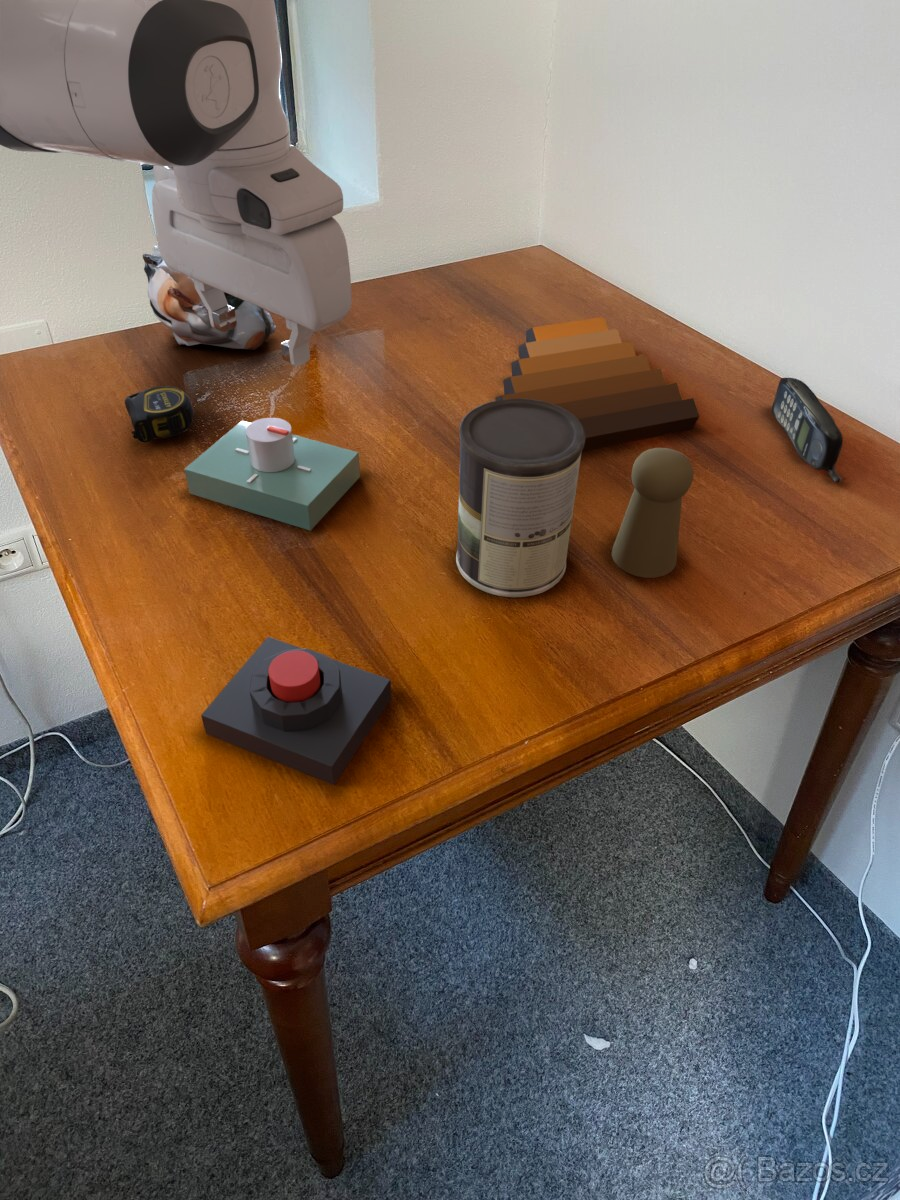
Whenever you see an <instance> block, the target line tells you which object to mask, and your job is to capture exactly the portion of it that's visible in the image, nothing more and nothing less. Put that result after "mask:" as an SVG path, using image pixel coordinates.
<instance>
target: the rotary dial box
mask: <svg viewBox="0 0 900 1200" xmlns="http://www.w3.org/2000/svg"><path fill="white" fill-rule="evenodd" d="M251 423H252V422H249V421H245V420H241V421H240V422H238V423H237V424H236V425H235V426H233V428H231V429H230V430H229V431H228V432H226V433H225V434H224V435H223V436H222V437H220V438H219V439H218V440H216V442H214V444H212V445H211V446H210V447H208V448H207V449H206V450H204V452H203V453H201V454H200V455H199V456H197V457H196V458H194V460H193V461H192V462H190V463H189V464H188V465H187V466H186V467H185V468H183V469H184V470H183V471H184V475H185V479H186V483H187V487H188V492H189V494H190V495H193V496H196V497H200V498H202V499H205V500H209V501H212V502H215V503H219V504H222V505H225V506H229V507H232V508H234V509H237V510H242V511H245V512H249V513H251V514H255V515H258V516H261V517H264V518H268V519H270V520H274V521H276V522H277V521H278V522H280V523H284V524H287V525H291V526H294V527H296V528H300V529H304V530H307V531H310V532H311V531H312V530H313V529H314V528H315V527H316V526H317V525H318V523H319V522H321V520H322V519H323V518H324V517H325V516H326V515H327V514H328V513H329V511H330V510H331V509H333V507H334V506H335V505H336V504H337V502H339V501H340V499H342V497H343V496H344V495H345V494H346V493H347V492H348V491H349V490H350V489H351V488H352V486H353V485H354V484H355V483H356V482H357V481H358V480H359V479H360V478H361V466H360V465H361V463H360V451H355V450H351V449H348V448H344V447H340V446H337V445H333V444H331V443H330V444H329V443H326V442H322V441H319V440H316V439H315V440H314V439H311V438H308V437H304V436H300V435H296V434H293V433H292V437H293V445H294V453H295V461H294V463H293V464H292V465H291V466H290V467H289V468H287V469H285V470H282V471H278V472H262V471H259V470H257V469H255V468H254V467H253V466H252V465H251V463H250V457H249V451H248V445H247V439H246V433H245V431H246V428H247V426H248V425H249V424H251Z"/></svg>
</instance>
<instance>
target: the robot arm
mask: <svg viewBox="0 0 900 1200" xmlns="http://www.w3.org/2000/svg"><path fill="white" fill-rule="evenodd" d="M279 31H280V30H279V23H278V15H277V9H276V3H275V0H0V146H2V147H4V148H7V149H10V150H12V151H16V152H31V153H51V154H52V153H54V154H58V153H65V154H70V155H71V154H72V155H79V156H85V157H92V158H98V159H104V160H110V161H117V162H118V161H119V162H129V163H136V164H143V165H149V166H153V168H152V169H153V176H154V181H155V183H154V185H153V186H152V193H151V203H152V204H151V205H152V213H153V223H154V230H155V237H156V243H157V245H158V249H159V252H160V255H161V257H162V259H163V260H164V262H165V264H166V265H167V267H169V268H170V269H173V270H175V271H177V272H180V273H182V274H184V275H187V276H189V277H191V278H193V280H194V285H195V289H196V291H197V292H198V294H199V296H200V298H201V300H202V301H203V303H204V305H205V307H206V309H207V310H208V313H209V319H210V324H211V326H212V327H213V328H216V329H217V330H220V331H222V332H227V331H228V330H232V329H234V328H235V327H236V324H237V321H236V319H235V309H234V308H233V307H231V306H229V305H228V302H227V300H226V297H225V295H224V292H226V293H228V294H230V295H233V296H235V297H237V298H240V299H242V300H244V301H246V302H249V303H251V304H253V305H256V306H258V307H260V308H263V309H264V310H265V311H266V312H270V313H272V314H275V315H277V316H278V317H280V318H284V319H285V326H286V329H288V330H289V331H291V332H290V335H289V339H288V340H285V341H282V342H281V343H280V346H281V352H282V353H283V354H282V359H283V361H284V362H287V363H289V364H291V365H293V366H294V367H301V366H302V365H305V364H307V363H308V362H309V361H310V359H311V350H310V349H311V348H310V341H311V340H312V337H313V335H314V333H315V332H319V331H323V330H325V329H327V328H329V327H332V326H335V325H336V324H338V323H339V322H341V321H343V320H344V319H345V318H346V317H347V315H348V314H349V312H350V311H351V309H352V297H353V296H352V278H351V277H352V276H351V266H350V258H349V250H348V244H347V239H346V236H345V232H344V230H343V228H342V226H341V224H340V223H339V222H338V221H337V220H336V218H334V217H335V216H337V215H339V214H341V213H342V212H343V210H344V194H343V193H344V192H343V190H342V188H341V185H339V184H338V182H336V181H335V180H334V179H333V178H331V177H330V176H329V175H328V174H326V173H325V172H324V171H322V170H321V168H319V167H317V166H316V164H314V163H313V162H312V161H310V160H309V159H308V158H307V157H306V156H305V154H304V153H303V152H302V151H301V150H300V149H299V148H297V146H295V145H292V143H291V135H290V126H289V121H288V117H287V116H286V113H285V111H284V108H283V103H282V99H281V89H280V87H281V86H280V85H281V84H280V82H281V74H282V69H283V58H282V49H281V39H280V38H281V37H280V32H279Z"/></svg>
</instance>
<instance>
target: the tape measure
mask: <svg viewBox="0 0 900 1200" xmlns="http://www.w3.org/2000/svg"><path fill="white" fill-rule="evenodd" d="M124 406H125V409H126V411H127V414H128V416H129V418H130V422H131V424H132V428H133V430H131V431H130V433H131V435H132V438H133V440H137V441H138V442H139V443H143V444H146V443H149V442H153V440H154V439H170V438H174V437H176V436H180V435H181V434H183V433H184V432H186V431H188V429H189V428H190V427H191V426H192V424H193V421H194V417H195V413H194V412H195V411H194V407H193V404H192V401H191V399H190V397H189V395H187V394H186V392H185V391H184V390H182V389H181V388H180V387H175V386H172V385H157V386H152V387H150V388H146V389H144V390H142V391H139V392H135V393H133V394H130V395H128V396H126V397H125V399H124Z"/></svg>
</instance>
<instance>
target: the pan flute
mask: <svg viewBox="0 0 900 1200" xmlns="http://www.w3.org/2000/svg"><path fill="white" fill-rule="evenodd" d="M525 341H526V342H524V343H522V344H520V345H518V359H516V360H514V361H512V362H511V364H510V365H511V376H509V377H507V378H504V379H503V394H502V395H499V396H497V397H494V398H495V399H494V401H496V400H503V399H533V400H539V401H543V402H547V403H551V404H554V405H556V406H559V407H561V408H563V409H565V410H567V411H568V412H570V413H571V414H573V415H574V416H575V417H576V418H577V419H578V420H579V421H580V422H581V424H582V426H583V427H584V430H585V435H586V437H585V444H584V448H583V450H582V452H584V451H588V450H595V449H599V448H605V447H610V446H615V445H621V444H625V443H630V442H635V441H640V440H647V439H651V438H657V437H660V436H662V437H663V436H667V435H672V434H676V433H682V432H686V431H692V430H693V429H694V427H695V426H696V424H697V422H698V420H699V418H700V414H699V411H698V407H697V404H696V401H695V399H694V397H692V398H686V399H683V397H682V394H681V392H680V391H681V390H680V388H679V386H678V383H677V382H673V383H667V382H666V380H665V377H664V374H663V370H662V368H660V367H659V368H654V369H651V366H650V363H649V360H648V358H647V355H646V354H640V355H636V351H635V350H634V345H633V343H632V341H631V340H630V341H623V342H622V338H621V335H620V333H619V330H618V328H613V329H609V328H608V325H607V321H606V318H605V316H599V317H592V318H586V319H580V320H573V321H566V322H559V323H552V324H546V325H540V326H539V325H538V326H533V327H530V328H528V329H527V330H525Z"/></svg>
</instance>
